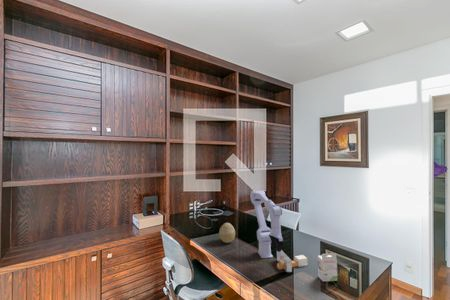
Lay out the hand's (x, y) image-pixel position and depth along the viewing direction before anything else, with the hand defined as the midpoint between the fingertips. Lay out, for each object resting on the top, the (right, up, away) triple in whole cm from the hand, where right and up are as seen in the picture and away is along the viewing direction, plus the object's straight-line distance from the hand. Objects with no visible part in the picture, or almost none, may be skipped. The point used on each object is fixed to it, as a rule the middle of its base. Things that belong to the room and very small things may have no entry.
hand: (276, 248), depth 129 cm
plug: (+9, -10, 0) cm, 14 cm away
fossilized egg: (-30, -12, +36) cm, 48 cm away
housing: (+5, -10, 0) cm, 11 cm away
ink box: (+24, -10, -14) cm, 30 cm away
